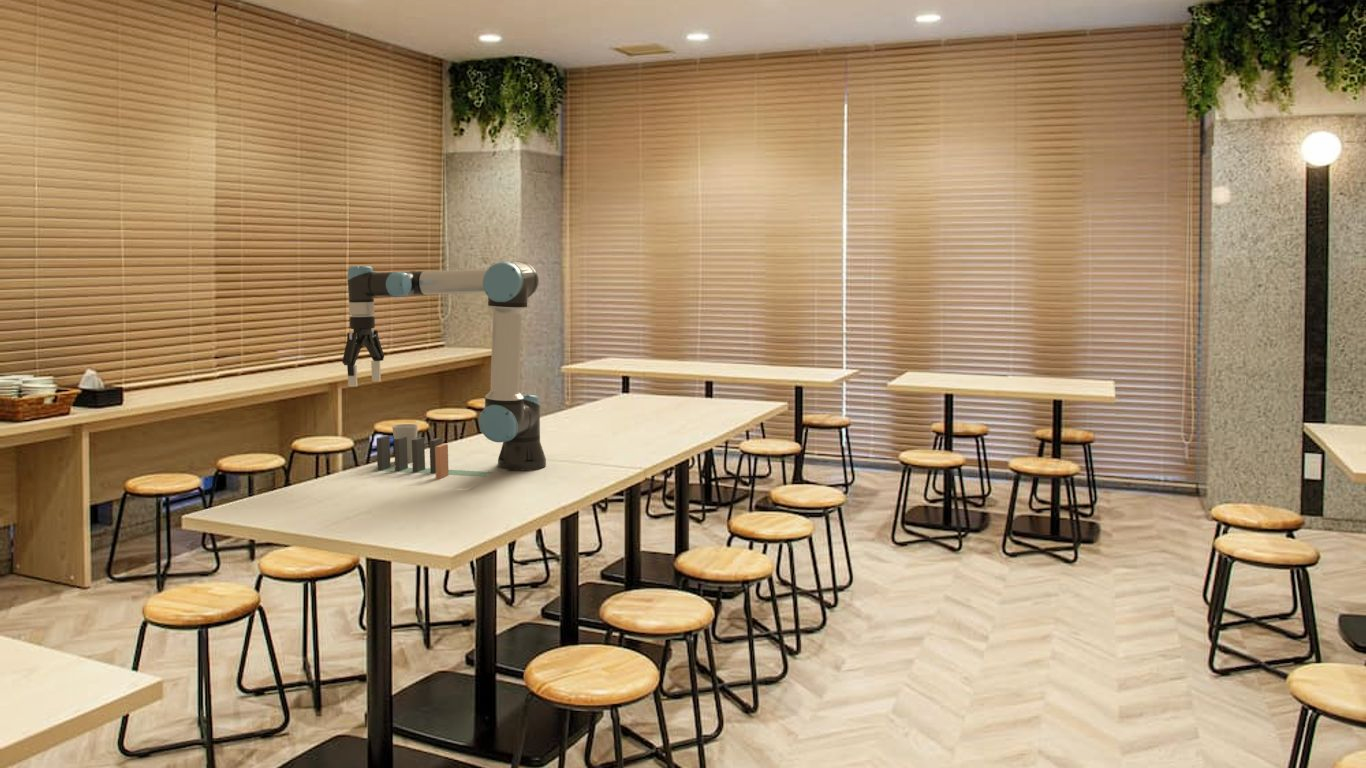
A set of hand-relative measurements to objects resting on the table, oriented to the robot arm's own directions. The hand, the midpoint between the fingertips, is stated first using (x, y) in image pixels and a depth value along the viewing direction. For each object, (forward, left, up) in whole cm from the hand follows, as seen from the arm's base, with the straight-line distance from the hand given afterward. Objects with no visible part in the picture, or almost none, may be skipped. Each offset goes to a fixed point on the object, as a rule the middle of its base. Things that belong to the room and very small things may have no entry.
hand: (364, 384), depth 337 cm
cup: (-7, -11, -27) cm, 30 cm away
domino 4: (-25, +2, -26) cm, 36 cm away
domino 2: (-13, +2, -26) cm, 29 cm away
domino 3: (-19, +2, -26) cm, 32 cm away
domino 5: (-30, +9, -27) cm, 41 cm away
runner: (-23, +2, -27) cm, 35 cm away
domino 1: (-7, +2, -26) cm, 27 cm away
